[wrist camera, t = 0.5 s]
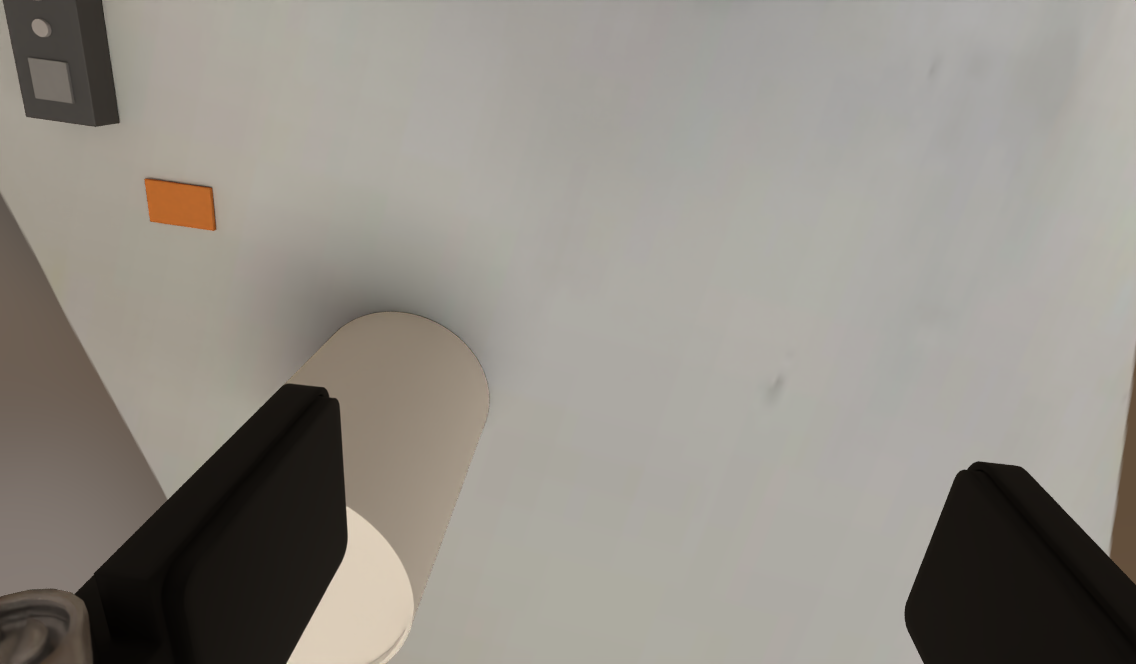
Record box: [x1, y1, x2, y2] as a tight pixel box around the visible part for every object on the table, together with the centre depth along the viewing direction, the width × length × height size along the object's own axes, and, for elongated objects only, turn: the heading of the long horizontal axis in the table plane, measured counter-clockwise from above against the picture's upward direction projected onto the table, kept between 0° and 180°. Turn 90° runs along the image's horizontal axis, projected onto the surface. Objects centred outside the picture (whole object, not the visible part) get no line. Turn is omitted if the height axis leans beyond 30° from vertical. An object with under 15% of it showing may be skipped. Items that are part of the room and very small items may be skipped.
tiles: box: [145, 179, 216, 231], centre depth 41 cm, size 26×5×1 cm, turn 173°
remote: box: [3, 0, 119, 127], centre depth 40 cm, size 13×5×2 cm, turn 173°
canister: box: [284, 312, 489, 664], centre depth 42 cm, size 14×14×20 cm
